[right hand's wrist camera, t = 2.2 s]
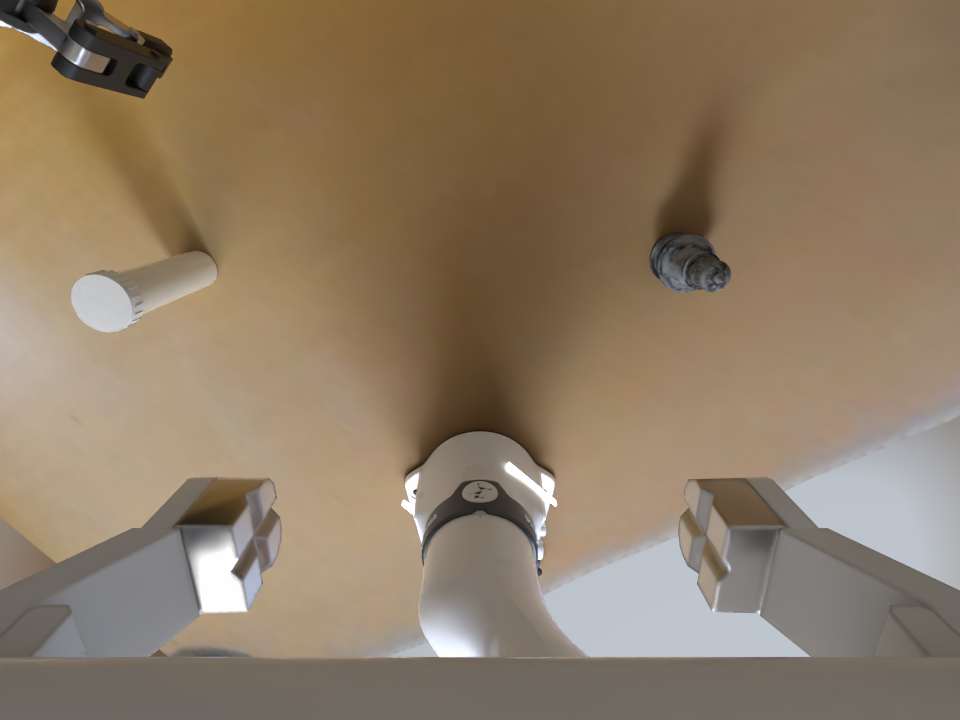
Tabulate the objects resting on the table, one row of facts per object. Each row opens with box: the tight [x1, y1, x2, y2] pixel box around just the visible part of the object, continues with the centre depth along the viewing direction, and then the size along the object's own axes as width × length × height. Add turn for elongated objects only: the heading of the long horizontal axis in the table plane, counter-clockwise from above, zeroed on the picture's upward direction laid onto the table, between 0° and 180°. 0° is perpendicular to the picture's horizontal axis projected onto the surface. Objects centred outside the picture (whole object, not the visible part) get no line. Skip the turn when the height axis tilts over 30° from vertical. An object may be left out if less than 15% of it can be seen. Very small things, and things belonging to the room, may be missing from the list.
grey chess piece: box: [650, 233, 731, 292], centre depth 51 cm, size 6×6×12 cm
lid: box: [71, 270, 144, 332], centre depth 43 cm, size 5×5×2 cm
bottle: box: [118, 251, 218, 315], centre depth 50 cm, size 4×4×15 cm
